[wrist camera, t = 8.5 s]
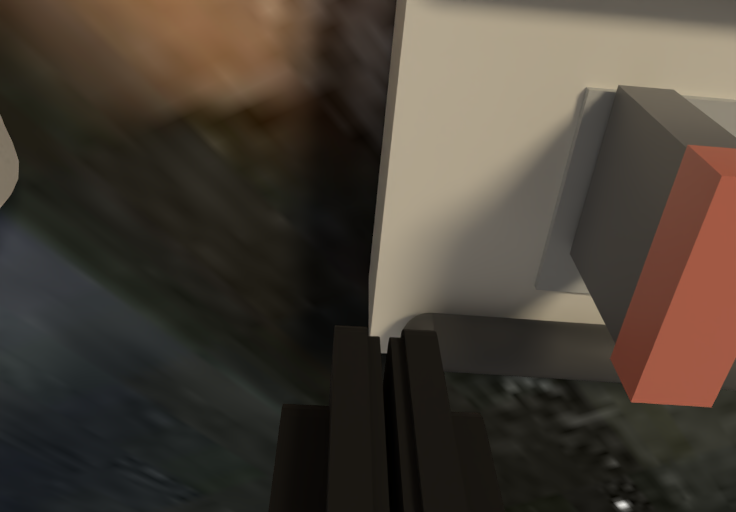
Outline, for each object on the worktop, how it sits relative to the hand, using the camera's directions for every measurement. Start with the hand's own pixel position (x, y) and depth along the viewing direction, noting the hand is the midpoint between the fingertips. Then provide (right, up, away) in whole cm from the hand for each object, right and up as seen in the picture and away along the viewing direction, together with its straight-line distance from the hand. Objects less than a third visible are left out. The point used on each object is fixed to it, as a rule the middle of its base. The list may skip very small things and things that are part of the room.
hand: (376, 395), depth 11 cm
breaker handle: (+7, +5, +9) cm, 13 cm away
